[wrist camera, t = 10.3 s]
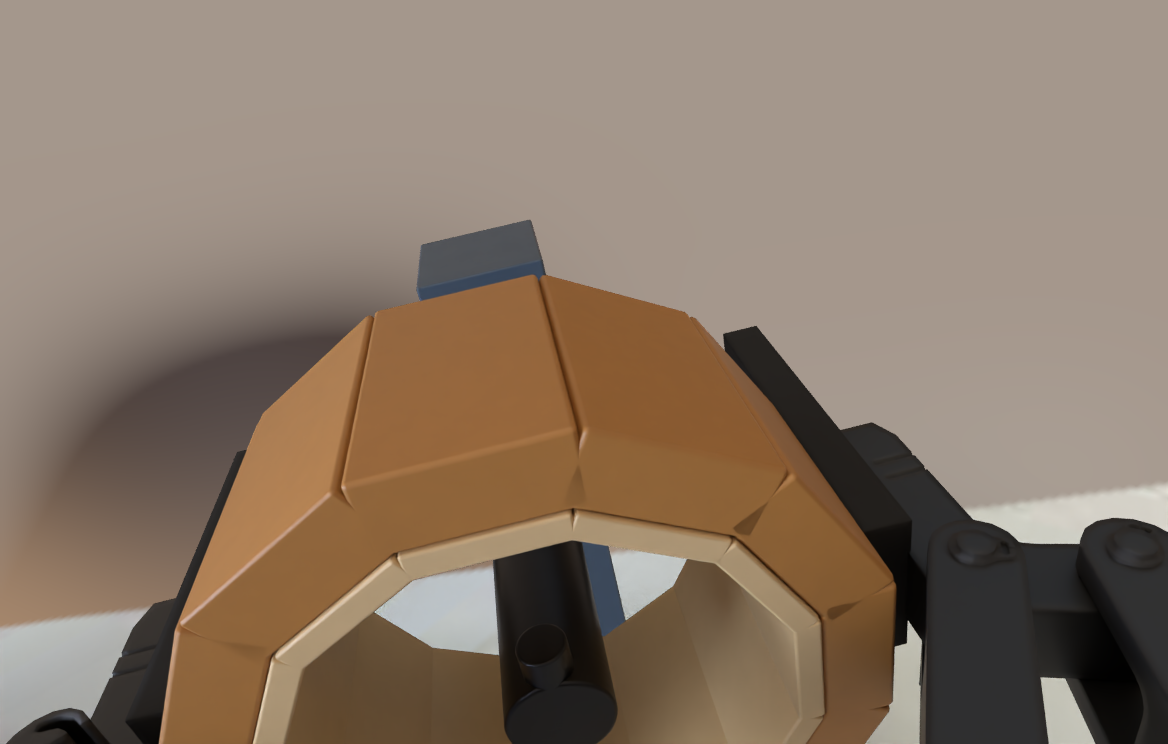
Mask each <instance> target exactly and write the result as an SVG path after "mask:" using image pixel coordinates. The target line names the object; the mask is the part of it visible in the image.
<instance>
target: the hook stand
mask: <svg viewBox="0 0 1168 744" xmlns="http://www.w3.org/2000/svg"><path fill="white" fill-rule="evenodd" d="M420 251H421V252H420V260H419V270H418V280H417V293H418V296H419V299H420V301H423V300H427V299H431V298H436V297H440V296H444V295H448V294H452V293H457V292H461V291H465V290H469V289H473V288H478V287H482V286H486V285H490V284H495V283H499V282H503V281H507V280H511V279H516V278H520V277H524V276H528V275H536V277H537V278H538V282H539V279H540V278H541V277H542V275H546V273H545V269H544V264H543V260H542V257H541V253H540V250H539V246H538V243H537V239H536V236H535V232H534V229H533V225H532V222H531V220H526V221H522V222H517V223H513V224H509V225H505V226H500V227H496V228H492V229H487V230H483V231H479V232H475V233H470V234H466V235H462V236H457V237H453V238H449V239H444V240H440V241H436V242H431V243H427V244H423V245H421V250H420ZM493 568H494V583H495V598H496V613H497V628H498V643H499V658H500V673H501V688H502V703H503V718H504V729H505V733H506V735H507V737H508V739H509V740H510V742H511V743H512V744H598V743H599V742H600V741H602V740H603V739H604V738H605V737H606V736H607V735H608V734H609V733H610V731H611V730H612V728H613V727H614V725H615V722H616V718H617V714H618V706H617V701H616V696H615V692H614V687H613V683H612V678H611V673H610V669H609V664H608V660H607V655H606V650H605V646H604V641H603V637H602V636H606V635H607V634H608V633H610V632H611V631H613V630H614V629H615V628H617V627H618V626H619V625H621V624H622V623H624V622H625V621H626V620H625V616H624V611H623V607H622V603H621V598H620V594H619V590H618V585H617V581H616V577H615V572H614V568H613V564H612V559H611V555H610V551H609V546H605V545H599V544H592V543H586V542H580V541H574V540H571V541H567V542H563V543H559V544H555V545H551V546H547V547H543V548H539V549H535V550H531V551H527V552H523V553H519V554H515V555H511V556H507V557H503V558H499V559H495V560H493Z"/></svg>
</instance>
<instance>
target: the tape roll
mask: <svg viewBox="0 0 1168 744" xmlns="http://www.w3.org/2000/svg"><path fill="white" fill-rule="evenodd" d="M571 540H574V541H580V542H586V543H592V544H599V545H605V546H612V547H617V548H623V549H629V550H635V551H642V552H648V553H654V554H660V555H666V556H672V557H678V558H685V559H687V561H686V563H685V565H684V566H683V568H682V570H681V572H680V574H679V576H678V578H677V580H676V582H675V584H674V586H673V587H672V588H670V589H669V590H667V591H666V592H665V593H663V594H662V595H661V596H659V597H658V598H656V599H655V600H654V601H652V602H651V603H650V604H648V605H647V606H645V607H644V608H643V609H641V610H640V611H639V612H637V613H636V614H634V615H633V616H632V617H630V618H629V619H628V620H626V621H625V622H624V623H622V624H621V625H619V626H618V627H617V628H615V629H614V630H613V631H611V632H610V633H608V634H607V635H606V636H602V637H603V641H604V646H605V650H606V655H607V660H608V664H609V669H610V673H611V678H612V683H613V687H614V692H615V696H616V701H617V706H618V714H617V718H616V722H615V725H614V727H613V728H612V730H611V731H610V733H609V734H608V735H607V736H606V737H605V738H604V739H603V740H602V741H600V742H599V743H598V744H865V743H866V742H867V740H868V739H869V737H870V736H871V735H872V733H873V732H874V731H875V729H876V728H877V727H878V725H879V724H880V723H881V721H882V720H883V719H884V717H885V716H886V715H887V713H888V712H889V709H890V708H889V704H891V703H892V701H893V678H894V649H895V619H896V584H895V583H894V581H893V580H894V579H893V575H892V573H891V571H890V570H889V569H888V567H887V566H886V564H885V563H884V561H883V560H882V559H881V557H880V556H879V554H878V553H877V552H876V550H875V549H874V547H873V546H872V544H871V543H870V542H869V540H868V539H867V537H866V536H865V535H864V533H863V532H862V530H861V529H860V527H859V526H858V525H857V523H856V522H855V520H854V519H853V517H852V516H851V515H850V513H849V512H848V510H847V509H846V508H845V506H844V505H843V503H842V502H841V500H840V499H839V498H838V496H837V495H836V493H835V492H834V490H833V489H832V488H831V486H830V485H829V483H828V482H827V481H826V479H825V478H824V476H823V475H822V473H821V472H820V471H819V469H818V468H817V466H816V465H815V464H814V462H813V461H812V459H811V458H810V456H809V455H808V454H807V452H806V451H805V449H804V448H803V446H802V445H801V444H800V442H799V441H798V439H797V438H796V437H795V435H794V434H793V432H792V431H791V429H790V428H789V427H788V425H787V424H786V422H785V421H784V420H783V418H782V417H781V415H780V414H779V412H778V411H777V410H776V408H775V407H774V405H773V404H772V403H771V402H770V401H769V400H768V398H767V397H766V396H765V395H764V394H763V393H762V392H761V391H760V390H759V388H758V387H757V386H756V385H755V384H754V383H753V382H752V381H751V380H750V378H749V377H748V376H747V375H746V374H745V373H744V372H743V371H742V370H741V368H740V367H739V366H738V365H737V364H736V363H735V362H734V361H733V359H732V358H731V357H730V356H729V355H728V354H727V353H726V352H725V351H724V349H723V348H722V347H721V346H720V345H719V344H718V343H717V342H716V341H715V339H714V338H713V337H712V336H711V335H710V334H709V333H708V332H707V331H706V330H705V328H704V327H703V326H702V325H701V324H700V323H699V322H698V321H697V320H696V319H695V318H693V317H690V318H689V316H688V315H687V314H686V313H685V312H682V311H678V310H675V309H671V308H667V307H664V306H660V305H656V304H653V303H649V302H645V301H641V300H637V299H634V298H630V297H626V296H622V295H619V294H615V293H611V292H607V291H604V290H600V289H596V288H593V287H589V286H585V285H581V284H578V283H574V282H570V281H566V280H562V279H559V278H555V277H551V276H548V275H542V277H541V278H540V279H539V282H538V278H537V277H536V275H528V276H524V277H520V278H516V279H511V280H507V281H503V282H499V283H495V284H490V285H486V286H482V287H478V288H473V289H469V290H465V291H461V292H457V293H452V294H448V295H444V296H440V297H436V298H431V299H427V300H423V301H419V302H415V303H410V304H406V305H402V306H398V307H394V308H390V309H385V310H381V311H378V312H376V314H375V318H373V317H372V316H367V317H366V318H365V319H364V320H363V321H362V322H360V324H358V325H357V326H356V327H355V328H354V329H353V330H352V331H351V332H350V333H349V334H348V335H347V336H345V337H344V338H343V339H342V340H341V341H340V342H339V343H338V344H337V345H336V346H335V347H334V348H333V349H332V350H330V351H329V352H328V353H327V354H326V355H325V356H324V357H323V358H322V359H321V360H320V361H319V362H318V363H317V364H316V365H315V366H314V367H312V368H311V369H310V370H309V371H308V372H307V373H306V374H305V375H304V376H303V377H302V378H301V379H300V380H298V381H297V383H295V384H294V385H293V386H292V387H291V388H290V389H289V390H288V391H287V392H286V393H285V394H284V395H282V396H281V397H280V398H279V399H278V400H277V401H276V402H275V403H274V404H273V405H272V406H271V407H270V408H269V409H268V410H266V411H265V412H264V413H263V414H262V417H261V419H260V422H259V423H258V424H257V427H256V429H255V431H254V434H253V436H252V439H251V441H250V444H249V447H248V449H247V451H246V454H245V456H244V459H243V461H242V464H241V466H240V469H239V471H238V474H237V476H236V479H235V481H234V484H233V486H232V489H231V491H230V494H229V496H228V499H227V501H226V504H225V506H224V509H223V511H222V514H221V516H220V519H219V521H218V524H217V526H216V529H215V531H214V534H213V536H212V539H211V541H210V544H209V546H208V549H207V551H206V554H205V556H204V559H203V561H202V564H201V566H200V569H199V571H198V574H197V576H196V579H195V581H194V584H193V586H192V589H191V591H190V594H189V596H188V599H187V601H186V604H185V606H184V609H183V611H182V614H181V616H180V619H179V621H178V624H177V626H176V629H175V633H174V640H173V647H172V654H171V661H170V668H169V676H168V683H167V690H166V697H165V704H164V711H163V718H162V725H161V732H160V739H159V744H512V743H511V742H510V740H509V739H508V737H507V735H506V733H505V729H504V718H503V703H502V688H501V673H500V658H499V655H492V654H483V653H474V652H465V651H456V650H447V649H439V648H432V647H430V646H429V645H427V644H425V643H424V642H422V641H421V640H419V639H417V638H416V637H414V636H412V635H411V634H409V633H407V632H406V631H404V630H402V629H401V628H399V627H397V626H396V625H394V624H392V623H391V622H389V621H387V620H386V619H384V618H382V617H381V616H379V615H377V614H376V613H374V612H375V611H376V610H377V609H378V608H379V607H381V606H382V605H383V604H384V603H386V602H387V601H388V600H389V599H391V598H392V597H393V596H394V595H396V594H397V593H398V592H399V591H400V590H402V589H403V588H404V587H405V586H407V585H408V584H409V583H410V582H412V581H413V580H416V579H420V578H424V577H428V576H432V575H436V574H440V573H444V572H448V571H452V570H456V569H460V568H464V567H468V566H471V565H476V564H480V563H484V562H487V561H491V560H495V559H499V558H503V557H507V556H511V555H515V554H519V553H523V552H527V551H531V550H535V549H539V548H543V547H547V546H551V545H555V544H559V543H563V542H567V541H571Z"/></svg>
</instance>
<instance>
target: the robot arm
mask: <svg viewBox="0 0 1168 744" xmlns="http://www.w3.org/2000/svg"><path fill="white" fill-rule="evenodd" d="M723 336H724V347H725V352H726V353H727V354H728V355H729V356H730V357H731V358H732V359H733V361H734V362H735V363H736V364H737V365H738V366H739V367H740V368H741V370H742V371H743V372H744V373H745V374H746V375H747V376H748V377H749V378H750V380H751V381H752V382H753V383H754V384H755V385H756V386H757V387H758V388H759V390H760V391H761V392H762V393H763V394H764V395H765V396H766V397H767V398H768V400H769V401H770V402H771V403H772V404H773V405H774V407H775V408H776V410H777V411H778V412H779V414H780V415H781V417H782V418H783V420H784V421H785V422H786V424H787V425H788V427H789V428H790V429H791V431H792V432H793V434H794V435H795V437H796V438H797V439H798V441H799V442H800V444H801V445H802V446H803V448H804V449H805V451H806V452H807V454H808V455H809V456H810V458H811V459H812V461H813V462H814V464H815V465H816V466H817V468H818V469H819V471H820V472H821V473H822V475H823V476H824V478H825V479H826V481H827V482H828V483H829V485H830V486H831V488H832V489H833V490H834V492H835V493H836V495H837V496H838V498H839V499H840V500H841V502H842V503H843V505H844V506H845V508H846V509H847V510H848V512H849V513H850V515H851V516H852V517H853V519H854V520H855V522H856V523H857V525H858V526H859V527H860V529H861V530H862V532H863V533H864V535H865V536H866V537H867V539H868V540H869V542H870V543H871V544H872V546H873V547H874V549H875V550H876V552H877V553H878V554H879V556H880V557H881V559H882V560H883V561H884V563H885V564H886V566H887V567H888V569H889V570H890V571H891V573H892V575H893V579H894V580H893V581H894V583H895V584H896V619H895V646H898V645H902V644H906V643H907V624H908V621H909V622H910V624H911V625H912V627H913V628H914V630H915V631H916V633H917V634H918V635H919V637H920V638H921V640H922V649H921V666H920V682H919V685H921V690H920V744H1049V743H1048V735H1047V727H1046V719H1045V711H1044V703H1043V694H1042V686H1041V678H1040V677H1048V678H1065V679H1066V681H1067V683H1068V685H1069V687H1070V690H1071V692H1072V694H1073V696H1074V698H1075V700H1076V703H1077V705H1078V707H1079V709H1080V711H1081V713H1082V715H1083V718H1084V720H1085V722H1086V724H1087V726H1088V728H1089V731H1090V733H1091V735H1092V737H1093V739H1094V741H1095V743H1096V744H1168V532H1166V531H1164V530H1163V529H1161V528H1159V527H1157V526H1155V525H1152V524H1148V523H1145V522H1141V521H1138V520H1134V519H1122V518H1111V519H1105V520H1100V521H1096V522H1094V523H1093V524H1091V525H1090V526H1088V527H1087V528H1085V530H1084V532H1083V535H1082V537H1081V540H1080V544H1031V543H1021V542H1018V541H1017V540H1016V539H1015V538H1014V537H1013V536H1012V535H1011V534H1010V533H1009V532H1007V531H1005V530H1003V529H1001V528H999V527H997V526H995V525H993V524H990V523H985V522H981V521H976V520H973V519H972V518H971V517H970V516H969V515H968V514H967V512H966V511H965V510H964V509H963V508H962V507H961V506H960V505H959V504H958V503H957V502H956V500H955V499H954V498H953V497H952V496H951V495H950V494H949V493H948V492H947V490H946V489H945V488H944V487H943V486H942V485H941V484H940V483H939V482H938V481H937V480H936V478H935V477H934V476H933V475H932V474H931V473H930V472H929V471H928V470H925V468H924V465H923V464H922V463H921V462H920V461H919V460H918V459H917V458H916V456H914V455H912V453H911V451H910V450H909V449H908V448H907V447H906V445H905V444H904V443H903V442H902V441H901V440H900V439H899V438H898V437H897V436H896V435H895V434H893V433H891V432H889V431H887V430H886V429H883V428H882V427H880V426H878V425H876V424H874V423H868V424H863V425H859V426H856V427H852V428H848V429H843V430H840V429H839V428H838V427H837V426H836V424H835V423H834V422H833V421H832V419H831V418H830V417H829V416H828V415H827V414H826V412H825V411H824V410H823V408H822V407H821V406H820V405H819V403H818V402H817V401H816V400H815V398H814V397H813V396H812V395H811V393H810V392H809V391H808V390H807V388H805V386H804V385H803V383H802V382H801V381H800V380H799V378H798V377H797V376H796V375H795V374H794V372H793V371H792V370H791V369H790V367H789V366H788V365H787V364H786V362H785V361H784V360H783V359H782V357H781V356H780V355H779V354H778V352H777V351H776V350H775V349H774V347H773V346H772V345H771V344H770V342H769V341H768V340H767V339H766V337H765V336H764V335H763V334H762V333H761V331H760V330H759V329H758V328H757V326H754V327H750V328H746V329H741V330H737V331H733V332H729V333H725V334H723ZM246 451H247V450H244V451H240V452H237V454H236V456H235V458H234V462H233V463H232V466H231V468H230V470H229V473H228V475H227V478H226V480H225V482H224V485H223V487H222V490H221V492H220V494H219V497H218V499H217V502H216V504H215V506H214V509H213V511H212V513H211V516H210V518H209V521H208V523H207V526H206V528H205V530H204V533H203V535H202V538H201V540H200V542H199V545H198V547H197V549H196V552H195V554H194V557H193V559H192V561H191V564H190V567H189V569H188V571H187V573H186V576H185V578H184V581H183V583H182V585H181V588H180V590H179V593H178V595H177V597H176V598H175V599H171V600H166V601H163V602H159V603H155V604H153V606H152V607H151V608H150V609H149V610H148V611H147V612H146V614H145V615H144V616H143V617H142V618H141V619H140V621H139V622H138V623H137V624H136V625H135V626H134V627H133V629H132V631H131V633H130V636H129V638H128V640H127V642H126V644H125V646H124V649H123V651H122V657H120V658H119V659H118V662H117V664H116V666H115V668H114V670H113V672H112V674H113V677H112V678H110V679H109V681H108V683H107V685H106V688H105V690H104V692H103V694H102V696H101V698H100V701H99V703H98V705H97V707H96V709H95V711H94V713H93V716H92V718H91V720H90V719H89V718H88V716H87V715H86V714H85V713H84V712H83V711H82V710H77V709H72V708H68V709H63V710H58V711H53V712H51V713H49V714H47V715H45V716H43V717H41V718H39V719H37V720H35V721H33V722H32V723H30V724H29V725H28V726H26V727H25V728H23V729H22V730H21V731H19V732H18V733H17V734H15V735H14V736H13V737H12V738H11V739H10V740H9V741H8V742H7V743H6V744H159V739H160V732H161V725H162V718H163V711H164V704H165V697H166V690H167V683H168V676H169V668H170V661H171V654H172V647H173V640H174V633H175V629H176V626H177V624H178V621H179V619H180V616H181V614H182V611H183V609H184V606H185V604H186V601H187V599H188V596H189V594H190V591H191V589H192V586H193V584H194V581H195V579H196V576H197V574H198V571H199V569H200V566H201V564H202V561H203V559H204V556H205V554H206V551H207V549H208V546H209V544H210V541H211V539H212V536H213V534H214V531H215V529H216V526H217V524H218V521H219V519H220V516H221V514H222V511H223V509H224V506H225V504H226V501H227V499H228V496H229V494H230V491H231V489H232V486H233V484H234V481H235V479H236V476H237V474H238V471H239V469H240V466H241V464H242V461H243V459H244V456H245V454H246Z"/></svg>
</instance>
